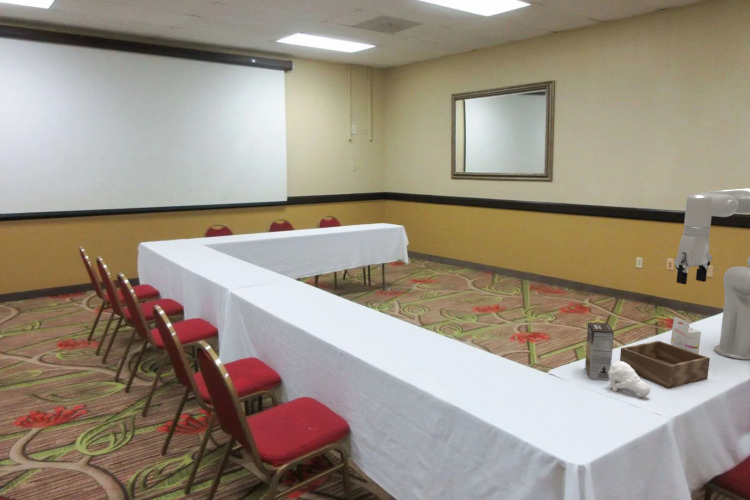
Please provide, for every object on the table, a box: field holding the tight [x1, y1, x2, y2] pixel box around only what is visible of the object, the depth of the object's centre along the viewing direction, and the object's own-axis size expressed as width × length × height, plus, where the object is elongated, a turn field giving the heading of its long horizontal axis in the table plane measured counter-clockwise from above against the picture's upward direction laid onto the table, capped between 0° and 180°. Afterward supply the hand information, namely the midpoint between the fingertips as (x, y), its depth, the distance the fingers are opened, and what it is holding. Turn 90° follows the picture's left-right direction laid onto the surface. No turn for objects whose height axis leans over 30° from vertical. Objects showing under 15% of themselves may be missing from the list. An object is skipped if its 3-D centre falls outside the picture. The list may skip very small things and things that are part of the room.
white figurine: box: [608, 360, 651, 399], centre depth 159 cm, size 6×8×12 cm
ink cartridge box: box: [670, 316, 702, 355], centre depth 184 cm, size 9×5×15 cm, turn 5°
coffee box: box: [584, 322, 615, 381], centre depth 171 cm, size 9×6×16 cm
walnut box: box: [619, 340, 711, 390], centre depth 173 cm, size 18×18×7 cm
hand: (691, 282), depth 180 cm, fingers open, 9 cm apart
